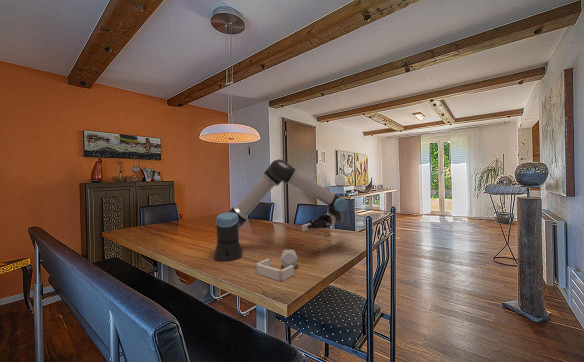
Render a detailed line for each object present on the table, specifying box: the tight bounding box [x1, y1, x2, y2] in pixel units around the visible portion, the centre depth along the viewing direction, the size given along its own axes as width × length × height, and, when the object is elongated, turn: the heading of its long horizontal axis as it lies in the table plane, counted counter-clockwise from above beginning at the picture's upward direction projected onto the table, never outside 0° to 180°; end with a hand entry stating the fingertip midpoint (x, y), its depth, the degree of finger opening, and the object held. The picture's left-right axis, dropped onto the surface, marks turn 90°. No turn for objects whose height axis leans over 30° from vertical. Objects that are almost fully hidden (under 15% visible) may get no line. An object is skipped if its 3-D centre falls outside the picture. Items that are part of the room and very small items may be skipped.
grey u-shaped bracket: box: [253, 258, 295, 282], centre depth 109 cm, size 16×8×4 cm, turn 51°
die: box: [279, 249, 298, 269], centre depth 118 cm, size 8×9×10 cm
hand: (302, 228), depth 126 cm, fingers closed
